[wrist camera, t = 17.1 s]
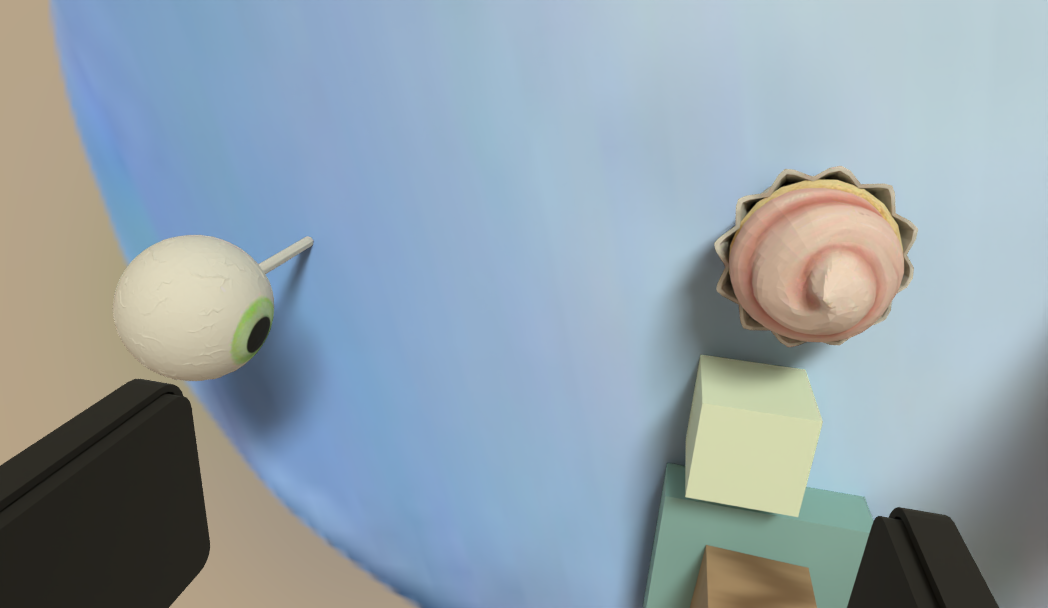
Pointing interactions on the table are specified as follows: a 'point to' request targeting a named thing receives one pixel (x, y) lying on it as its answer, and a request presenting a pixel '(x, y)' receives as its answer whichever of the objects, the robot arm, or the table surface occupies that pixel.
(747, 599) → the walnut cube
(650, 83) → the table surface
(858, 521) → the base block
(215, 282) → the lollipop
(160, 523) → the robot arm
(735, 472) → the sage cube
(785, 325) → the cupcake
